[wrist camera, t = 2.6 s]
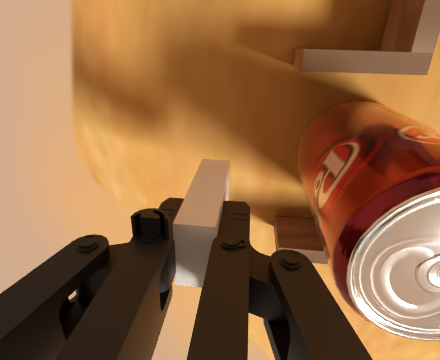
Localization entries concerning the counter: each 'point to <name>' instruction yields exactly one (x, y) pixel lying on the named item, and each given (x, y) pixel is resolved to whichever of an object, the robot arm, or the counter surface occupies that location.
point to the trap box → (366, 63)
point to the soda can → (378, 212)
